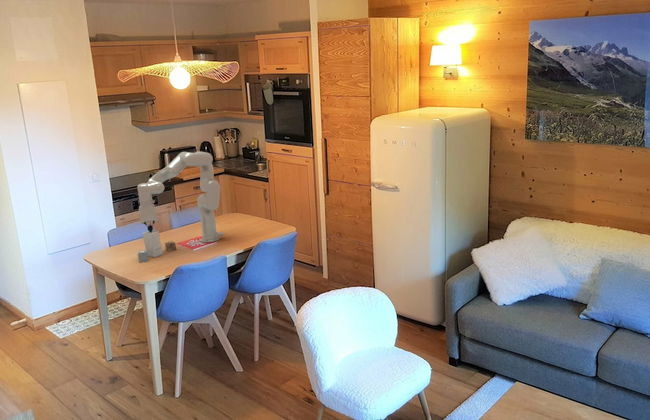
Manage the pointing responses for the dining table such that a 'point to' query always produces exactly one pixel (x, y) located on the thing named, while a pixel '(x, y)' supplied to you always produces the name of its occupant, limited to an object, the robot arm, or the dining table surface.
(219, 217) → the dining table surface
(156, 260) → the dining table surface
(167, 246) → the walnut block dot
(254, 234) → the dining table surface
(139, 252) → the slate block dot
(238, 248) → the dining table surface
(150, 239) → the skincare box
